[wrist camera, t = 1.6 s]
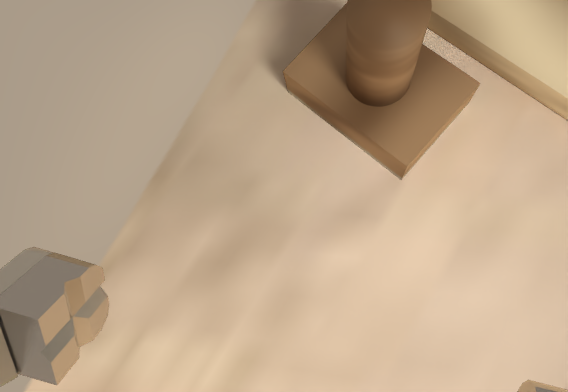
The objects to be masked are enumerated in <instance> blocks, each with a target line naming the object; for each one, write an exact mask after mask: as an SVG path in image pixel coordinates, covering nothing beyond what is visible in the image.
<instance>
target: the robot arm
mask: <svg viewBox="0 0 568 392" xmlns="http://www.w3.org/2000/svg"><path fill="white" fill-rule="evenodd" d="M104 281H105V277H104V273H103V268H102V267H100V266H97V265H94V264H91V263H88V262H85V261H81V260H78V259H75V258H71V257H68V256H65V255H61V254H58V253H53V252H50V251H47V250H43V249H40V248H36V247H32V248H28V249H25V250H24V251H22V252H21V253H20V254H19V255H17V256H16V257H15V258H14V259H12V260H11V261H10V262H9V263H7V264H6V265H5V266H4V267H2V268H1V269H0V387H1V386H3V385H5V384H6V383H8V382H9V381H12V380H13V379H15V378H17V377H18V374H20V375H23V376H27V377H30V378H34V379H37V380H40V381H44V382H47V383H51V384H54V385H58V384H59V383H60V381H61V380H62V379H63V378H64V376H65V375H66V374H67V373H68V371H69V370H70V369H71V368H72V366H73V365H74V364H75V363H76V361H77V360H78V359H79V349H80V346H82V345H85V344H87V343H89V342H91V341H93V340H94V339H95V337H96V336H97V335H98V333H99V332H100V331H101V330H102V328H103V325H104V323H105V321H106V318H107V316H108V310H109V301H108V296H107V294H106V293H105V292H104V291H103V289H102V288H101V287H100V285H101V284H102V283H103V282H104ZM517 392H568V390H567V389H563V388H559V387H555V386H551V385H547V384H543V383H539V382H535V381H531V380H527V381H525V382H524V383H522V385H521V386H520V388H519V390H518V391H517Z"/></svg>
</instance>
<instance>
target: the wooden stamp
mask: <svg viewBox="0 0 568 392" xmlns="http://www.w3.org/2000/svg"><path fill="white" fill-rule="evenodd" d="M431 10H432V2H431V0H348V2H347V3H346V4H345V6H344V7H343V8H342V9H341V10H340V11H339V12H338V13H337V14H336V15H335V16H334V17H333V18H332V19H331V20H330V22H329V23H328V24H327V25H326V26H325V27H324V28H323V29H322V30H321V31H320V32H319V33H318V34H317V35H316V36H315V38H314V39H313V40H312V41H311V42H310V43H309V44H308V45H307V46H306V47H305V48H304V49H303V50H302V51H301V52H300V54H299V55H298V56H297V57H296V58H295V59H294V60H293V61H292V62H291V63H290V64H289V65H288V66H287V67H286V68H285V70H284V71H283V74H284V78H285V81H286V85H287V89H288V92H289V93H290V94H291V95H293V96H294V97H295V98H296V99H298V100H299V101H300V102H302V103H303V104H304V105H305V106H307V107H308V108H309V109H311V110H312V111H313V112H314V113H316V114H317V115H318V116H320V117H321V118H322V119H323V120H325V121H326V122H327V123H328V124H330V125H331V126H332V127H334V128H335V129H336V130H337V131H339V132H340V133H341V134H343V135H344V136H345V137H346V138H348V139H349V140H350V141H352V142H353V143H354V144H355V145H357V146H358V147H359V148H361V149H362V150H363V151H364V152H366V153H367V154H368V155H370V156H371V157H372V158H373V159H375V160H376V161H377V162H379V163H380V164H381V165H382V166H384V167H385V168H386V169H388V170H389V171H390V172H391V173H393V174H394V175H395V176H396V177H398V178H399V179H400V180H402V179H403V178H404V176H405V175H406V174H407V173H408V172H409V171H410V170H411V168H412V167H413V166H414V165H415V164H416V163H417V162H418V160H419V159H420V158H421V157H422V156H423V155H424V154H425V152H426V151H427V150H428V149H429V148H430V147H431V146H432V145H433V143H434V142H435V141H436V140H437V139H438V138H439V137H440V135H441V134H442V133H443V132H444V131H445V130H446V129H447V127H448V126H449V125H450V124H451V123H452V122H453V121H454V119H455V118H456V117H457V116H458V115H459V114H460V113H461V111H462V110H463V109H464V108H465V107H466V106H467V105H468V103H469V101H470V100H471V98H472V96H473V95H474V93H475V91H476V90H477V88H478V86H479V85H480V83H479V82H478V81H476V80H475V79H473V78H472V77H470V76H469V75H467V74H466V73H464V72H463V71H462V70H460V69H459V68H457V67H456V66H454V65H453V64H451V63H450V62H448V61H447V60H445V59H444V58H442V57H441V56H439V55H438V54H436V53H435V52H433V51H432V50H430V49H429V48H427V47H426V46H425V45H423V44H422V43H423V39H424V36H425V32H426V29H427V26H428V22H429V19H430V15H431Z"/></svg>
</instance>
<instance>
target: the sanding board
mask: <svg viewBox="0 0 568 392" xmlns="http://www.w3.org/2000/svg"><path fill="white" fill-rule="evenodd" d="M431 2H432V10H431V15H430V19H429V22H428V26H427V28H429V29H430V30H432V31H433V32H435V33H436V34H438V35H439V36H441V37H442V38H444V39H445V40H447V41H448V42H450V43H451V44H453V45H454V46H456V47H457V48H459V49H460V50H462V51H463V52H465V53H466V54H468V55H469V56H471V57H472V58H474V59H476V60H477V61H479V62H480V63H482V64H483V65H485V66H486V67H488V68H489V69H491V70H492V71H494V72H495V73H497V74H498V75H500V76H501V77H503V78H504V79H506V80H507V81H509V82H510V83H512V84H513V85H515V86H516V87H518V88H519V89H521V90H522V91H524V92H525V93H527V94H528V95H530V96H532V97H533V98H535V99H536V100H538V101H539V102H541V103H542V104H544V105H545V106H547V107H548V108H550V109H551V110H553V111H554V112H556V113H557V114H559V115H560V116H562V117H563V118H565V119H566V120H568V0H431Z"/></svg>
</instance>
